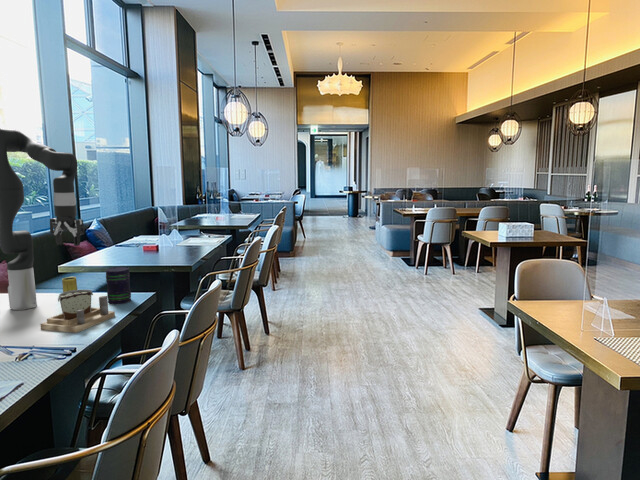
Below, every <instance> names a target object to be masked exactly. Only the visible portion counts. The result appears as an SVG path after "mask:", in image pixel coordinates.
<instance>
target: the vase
mask: <svg viewBox="0 0 640 480" xmlns="http://www.w3.org/2000/svg"><path fill="white" fill-rule="evenodd" d="M77 281H78V280H77V277H76V276H69V277H64V278H62V279H61V283H62V284H61V285H62V293H63V292H67V291H72V290H78V283H77Z"/></svg>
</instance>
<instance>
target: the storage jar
mask: <svg viewBox="0 0 640 480" xmlns="http://www.w3.org/2000/svg"><path fill="white" fill-rule="evenodd" d="M130 274H131V273H130V267H127V266H115V267H109V268H106V269H105V282H106V284H107V291H106V293H107V295H106V296H107V299H108V303H109V304H108V305H113V304H114V305H125V304H128V303H130V302H132V298H131V297H132V291H131V286H130V280H131V278H130V277H131V275H130Z"/></svg>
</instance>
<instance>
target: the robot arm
mask: <svg viewBox="0 0 640 480" xmlns="http://www.w3.org/2000/svg"><path fill="white" fill-rule="evenodd" d="M17 152H19V153H20V152H21V153H26V154H27V155H28V157H29V158H31V159H32V160H34V161H35V162H38V163H41V164H42V165H44V166H45V167H46V168H47V169H49V170H51V171H55V172H56V171H57V172H58V171H59V172H61V171H62V172H61V173H62V174H61V175H60V176H57V177H55V178H53V180H52V185H53V205H54V206H53V208H54V216H55V217H54V218H50V219H49V233H50V234H53V235H54V237H55V243H56V245H59V246H60V245H62V244H63V236H62V234H63V232H64V231H69V232H70V233H71V235H72V236H73V246H74V247H77V246H80V245H81V236H83V235H84V234H85V227H84V220H83V219H80V218H79V219H77V217H76V216H77V213H78V212H77V211H78V210H77V198H76V195H75V183H74V182H75V179H76V178H75V177H76V174H77V171H78V159H77V157H76V156H75V155H74V154H73V153H71V152H61V151H60V152H59V151H57V150H55V148H52V147H50V146H48V145H45V144H42V143H40V142H38V141H35V140H34V139H32V138H30V137H29V136H27V135H26V134H25V133H23V132H21V131H20V130H17V129H13V128H0V250H1V251H2V253H4V254H5V255H11V254H13V255H14V254H18V255H17V256H16V257H15V258H14V259H13V260H10V261H9V262H7V264H6V268H7V275H8V276H7V277H8V286H7V294H8V302H9V305H8V306H9V309H11V310H13V311H23V310H24V311H25V310H29V309H33V308H36V307H37V306H38V304H37V293H36V292H37V291H36V283H35V273H34V261H35V260H34V259H35V258H34V240H33V236H32V234H31V232H30V231H28V230H25V229H24V230H14V231H13V229H14V228H13V226H14V220H15V217H16V216H17V214H18V212H19V211H20V209H22V206H23V204H24V201H25V189H24V184H23V182H22V180H21V178H20V177H19V176H18V175H17V173H16V172H15V170H14V169H13V167H12V166H11V163H10V161H9V157H8V153H17Z"/></svg>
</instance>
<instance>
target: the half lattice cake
mask: <svg viewBox="0 0 640 480" xmlns="http://www.w3.org/2000/svg"><path fill="white" fill-rule="evenodd" d="M92 296H94V293H93V291H92V290H91V289H77V290H72V291H67V292H63V291H62V292H61V293H59V295H58V298H57V302H58V303H59V302H60V303H59V304H60V307H61V308H60V309H61V311H62V313H63V318H64V320H71V319H74V318H76V317H77V312H76V311H77V310H84V314H87V313H89V312H91V307H92ZM62 313H61V314H62Z"/></svg>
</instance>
